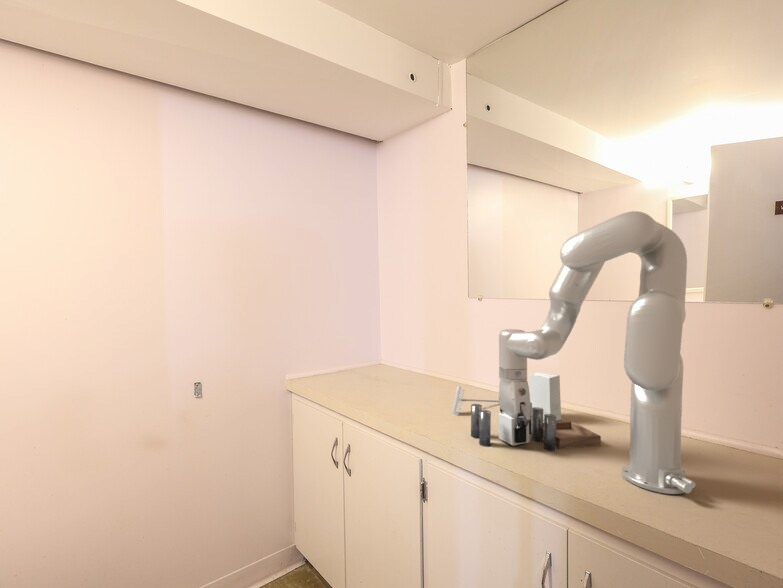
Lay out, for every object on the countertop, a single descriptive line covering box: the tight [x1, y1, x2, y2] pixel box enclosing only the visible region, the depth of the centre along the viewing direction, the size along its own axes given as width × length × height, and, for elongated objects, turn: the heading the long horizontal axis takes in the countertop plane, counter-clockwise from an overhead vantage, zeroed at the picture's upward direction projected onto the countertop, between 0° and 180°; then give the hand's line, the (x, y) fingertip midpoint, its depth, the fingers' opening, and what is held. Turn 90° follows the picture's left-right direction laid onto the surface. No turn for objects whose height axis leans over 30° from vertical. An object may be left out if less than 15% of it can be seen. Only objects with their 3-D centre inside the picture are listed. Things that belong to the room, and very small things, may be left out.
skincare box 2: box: [528, 371, 562, 422], centre depth 130 cm, size 8×6×15 cm
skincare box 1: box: [497, 412, 530, 446], centre depth 109 cm, size 6×6×7 cm
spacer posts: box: [470, 402, 557, 452], centre depth 109 cm, size 15×19×9 cm
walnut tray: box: [543, 420, 602, 449], centre depth 112 cm, size 13×13×3 cm
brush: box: [451, 386, 499, 417], centre depth 141 cm, size 4×27×9 cm, turn 121°
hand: (513, 436), depth 109 cm, fingers closed on skincare box 1, 6 cm apart
